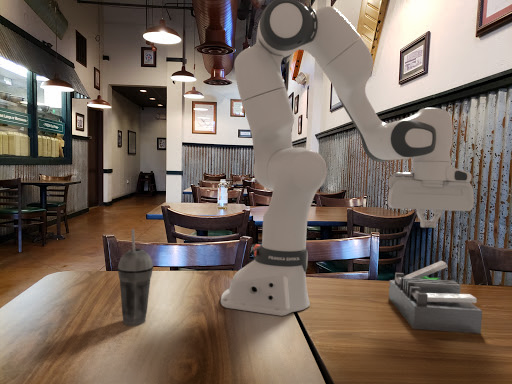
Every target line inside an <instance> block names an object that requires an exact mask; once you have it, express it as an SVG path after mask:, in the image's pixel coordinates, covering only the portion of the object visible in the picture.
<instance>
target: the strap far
mask: <svg viewBox="0 0 512 384" xmlns="http://www.w3.org/2000/svg"><path fill="white" fill-rule="evenodd" d="M446 268H448V265H447V262H445V261H443V260H439V261H437V262H434V263H433V264H430V265H427V266H425V267H423V268H420V269H418V270H416V271H412V272H411V273H409V274H406V275H404V277H399V276H398V277H396V278H395V277H394V280H395V281H396V283H397V284H398V285H399V286H400V278H415V279H420V278H423V277H425V276H426V277H428V276H429V275H431V274H435V273H438V272H439V271H442V270H444V269H446Z"/></svg>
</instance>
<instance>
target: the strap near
mask: <svg viewBox="0 0 512 384" xmlns="http://www.w3.org/2000/svg"><path fill="white" fill-rule="evenodd" d="M417 293H420V292H419V291H417V290H415V291H413V292H412V296H413V297H414V298H415V299H416V295H417ZM426 294H428V297H427V302H459V303H472V304H476V303H477V301H478V299H477V297H475V296H474V295H472V293H471V294H470V293H460V294H444V293H426Z"/></svg>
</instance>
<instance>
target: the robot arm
mask: <svg viewBox="0 0 512 384" xmlns="http://www.w3.org/2000/svg"><path fill="white" fill-rule="evenodd" d="M299 50H300V51H305V52H306V53H308V54H309V55H311V56H312V57H313V58H314V59H315V61H316V62H317V64H318V66H319V67H320V69H321V70H322V71H323V73H324V74H325V76H326V77H327V79H328V80H329V82H330V83H331V85H332V87H333V89H334V91H335V92H336V95H337V98H338V99H339V101H340V103H341V105H342V107H343V109H344V110H345V112H346V113H347V115H348V117H349V118H350V121H351V122H352V124H353V126H355V128H356V130H357V132H358V135H359V137H360V141H361V145H362V148H363V151H364V152H365V154H366V156H367V157H368V158H369V159H370V160H372V161H375V162H376V163H377V162H378V163H383V162H384V163H385V162H388V161H397V160H407V159H408V160H409V159H412V167H411V168H412V172H394V173H393V174H391V175H390V176H389V178H388V188H389V189H388V194H387V195H388V196H387V205H388V207H389V208H390V209H398V210H399V209H402V210H403V209H404V210H415V211H416V215H417V217H418V219H419V220H420V224H419V225H420V228H430V229H431V228H432V229H436V228H437V222H438V220H439V219H440V218H441V216H442V213H443V211H451V212H456V211H457V212H459V211H460V212H470V211H471V210H472V209H474V203H475V196H474V188H473V185H472V184H471V183H470V182H471V181H472V176H473V175H472V173H470V172H468V171H464V170H461V169H459V168H457V167H453V166H452V158H451V149H452V146H453V137H454V136H453V135H454V134H453V133H454V131H453V129H454V128H453V127H454V126H453V119H452V116H451V114H450V112H448V111H447V110H445V109H443V108H437V107H425V108H424V107H423V108H421V109H419V110H418V111H417V112H416V113H414V114H412V115H410V116H409V117H405V118H403V119H400V120H396V121H393V122H388V123H386V122H384V121H382V120H381V119H380V118H379V116H378V115H377V113H376V111H375V109H374V107H373V106H372V104H371V102H370V101H369V98H368V97H367V94H366V86H367V82H368V81H369V79H370V77H371V75H372V72H373V66H374V59H373V56H372V54H371V51H370V49H369V47H368V45H367V43H365V41H364V39H363V38H362V37H361V35H360V34H359V32H358V31H357V29H355V27H354V26H353V25H352V24H351V22H350V21H349V19H347V18H346V17H345V16H344V15H343V14H342V12H340V11H339V10H338V9H337V8H335V7H334V6H323V7H321V8H318V9H316V10H315V9H313V8H312V7H310V6H307V5H305V4H303V3H302V2H301V1H298V0H272V1H271V2H270V3H268V5H267V6H265V8H264V9H263V11H262V13H261V16H260V19H259V22H258V25H257V32H256V39H255V43H254V44H253V45H252V46H250V47H247V48H245V49H243V50H241V52H239V54H237V56H236V58H235V59H234V74H235V80H236V85H237V89H238V93H239V98H240V100H241V104H242V106H243V107H242V108H243V110H244V112H245V116H246V120H247V123H248V125H249V129H250V133H251V138H252V139H251V140H252V146H253V155H254V162H253V163H254V164H253V171H252V172H253V177H254V179H255V181H256V182H257V183H258V184H259V185H260V186H262V187H264V188H265V189H267V190H268V191H272V195H271V199H270V201H269V205H268V208H267V209H266V211H265V212H264V214H263V217H262V237H261V239H262V241H261V244H259V243H258V244H257V243H256V244H255V245H254V246H253V248H252V249H253V260H252V261H251V262H249V263H247V264H245V266H244V267H242V268H240V269H239V270H238V271H237V272H235V273H234V275H233V278H232V279H231V282H230V287H229V288H227V289H225V290H224V291H223V293H222V294H221V297H220V304H221V306H223V308H226V309H233V310H238V311H247V312H251V313H252V312H254V313H261V314H266V315H272V316H273V315H274V316H281V317H282V316H286V315H288V314H291V313H294V312H300V311H303V310H306V309H307V308H308V307H310V304H311V303H310V299H309V295H308V294H309V293H308V287H307V277H306V276H307V275H306V272H307V268H308V260H309V258H308V256H309V255H308V254H309V253H308V248H307V233H308V232H307V231H308V230H307V229H308V219H309V214H310V209H311V206H312V204H313V201H314V197H315V195H316V193H317V192H318V190H319V189H320V188H321V187H322V186H323V185H324V184H325V181H326V180H327V179H326V178H327V175H328V167H327V163H326V160H325V159H324V157H323V156H322V155H321V153H318V152H317V151H315V150H313V149H311V148H306V147H300V146H299V147H294V146H293V139H292V138H293V137H292V135H293V134H292V132H293V131H292V130H293V125H294V123H295V115H294V112H293V108H292V105H291V101H290V97H289V94H288V90H287V88H286V85H285V82H284V81H285V80H284V78H283V76H282V66H281V65H282V62H284V61H285V60H286V59H288V58H290V56H292V55H293V54H294V53H296V52H297V51H299ZM427 210H428V211H432V214H434V215H433V216H432V218H431V219H426V218H425V217H424V215H425V212H426V211H427Z"/></svg>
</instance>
